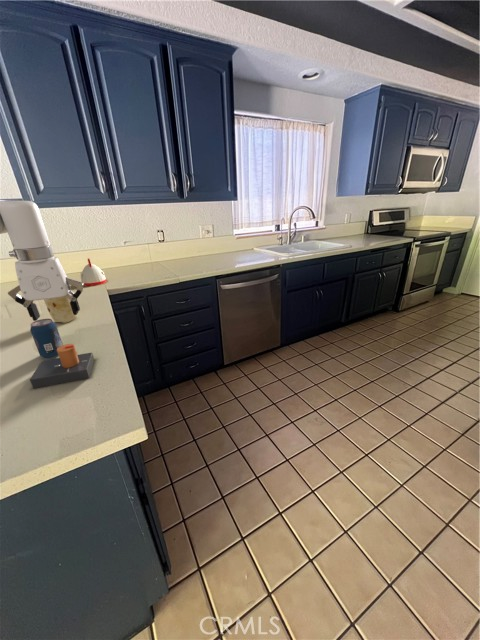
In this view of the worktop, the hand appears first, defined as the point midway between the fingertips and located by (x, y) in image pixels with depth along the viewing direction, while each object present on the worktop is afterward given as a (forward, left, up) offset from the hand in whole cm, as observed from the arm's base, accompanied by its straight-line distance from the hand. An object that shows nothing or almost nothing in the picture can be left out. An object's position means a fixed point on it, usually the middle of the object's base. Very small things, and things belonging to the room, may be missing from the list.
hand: (57, 316), depth 74 cm
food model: (-12, +43, -18) cm, 48 cm away
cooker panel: (-2, -1, -18) cm, 18 cm away
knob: (0, -1, -15) cm, 15 cm away
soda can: (-9, +13, -18) cm, 24 cm away
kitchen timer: (-9, +104, -18) cm, 106 cm away
